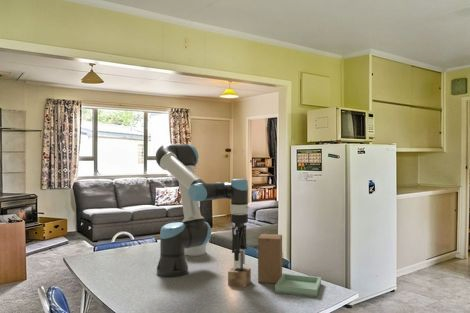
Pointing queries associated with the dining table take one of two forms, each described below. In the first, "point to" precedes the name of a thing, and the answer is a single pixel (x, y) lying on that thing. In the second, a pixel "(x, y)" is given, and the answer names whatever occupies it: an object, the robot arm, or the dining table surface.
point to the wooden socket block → (239, 277)
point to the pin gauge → (240, 262)
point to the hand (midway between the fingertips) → (239, 265)
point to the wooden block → (269, 258)
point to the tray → (298, 285)
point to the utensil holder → (195, 250)
